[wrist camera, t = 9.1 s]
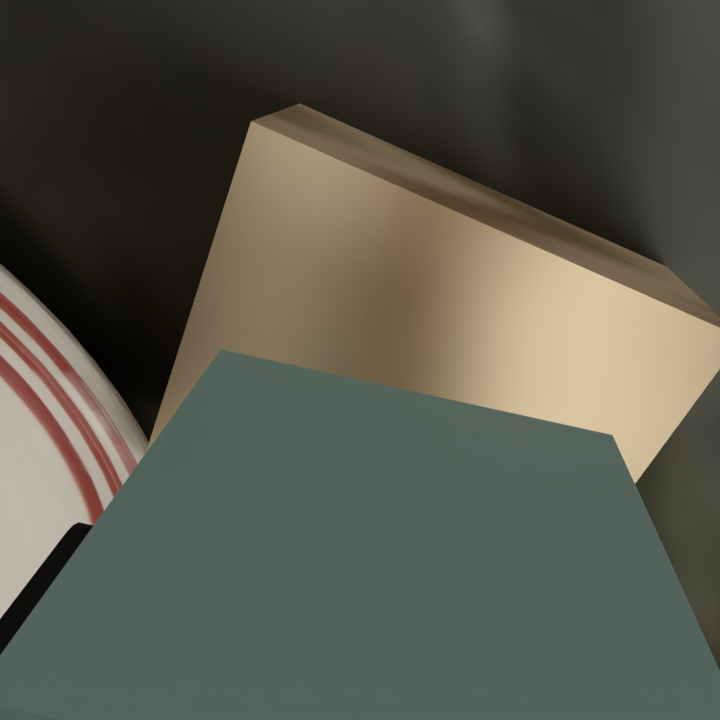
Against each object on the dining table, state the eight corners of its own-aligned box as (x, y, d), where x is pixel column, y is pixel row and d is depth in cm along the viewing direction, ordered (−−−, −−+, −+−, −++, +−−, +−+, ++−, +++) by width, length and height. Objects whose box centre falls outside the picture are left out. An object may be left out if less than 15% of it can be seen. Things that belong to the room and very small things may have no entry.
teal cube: (612, 435, 10) (820, 890, 5) (500, 701, 13) (548, 1194, 7) (220, 349, 10) (-32, 698, 5) (189, 631, 13) (4, 1066, 7)
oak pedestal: (662, 262, 17) (742, 337, 13) (484, 540, 21) (497, 669, 17) (302, 102, 17) (251, 121, 12) (191, 421, 21) (123, 524, 16)
